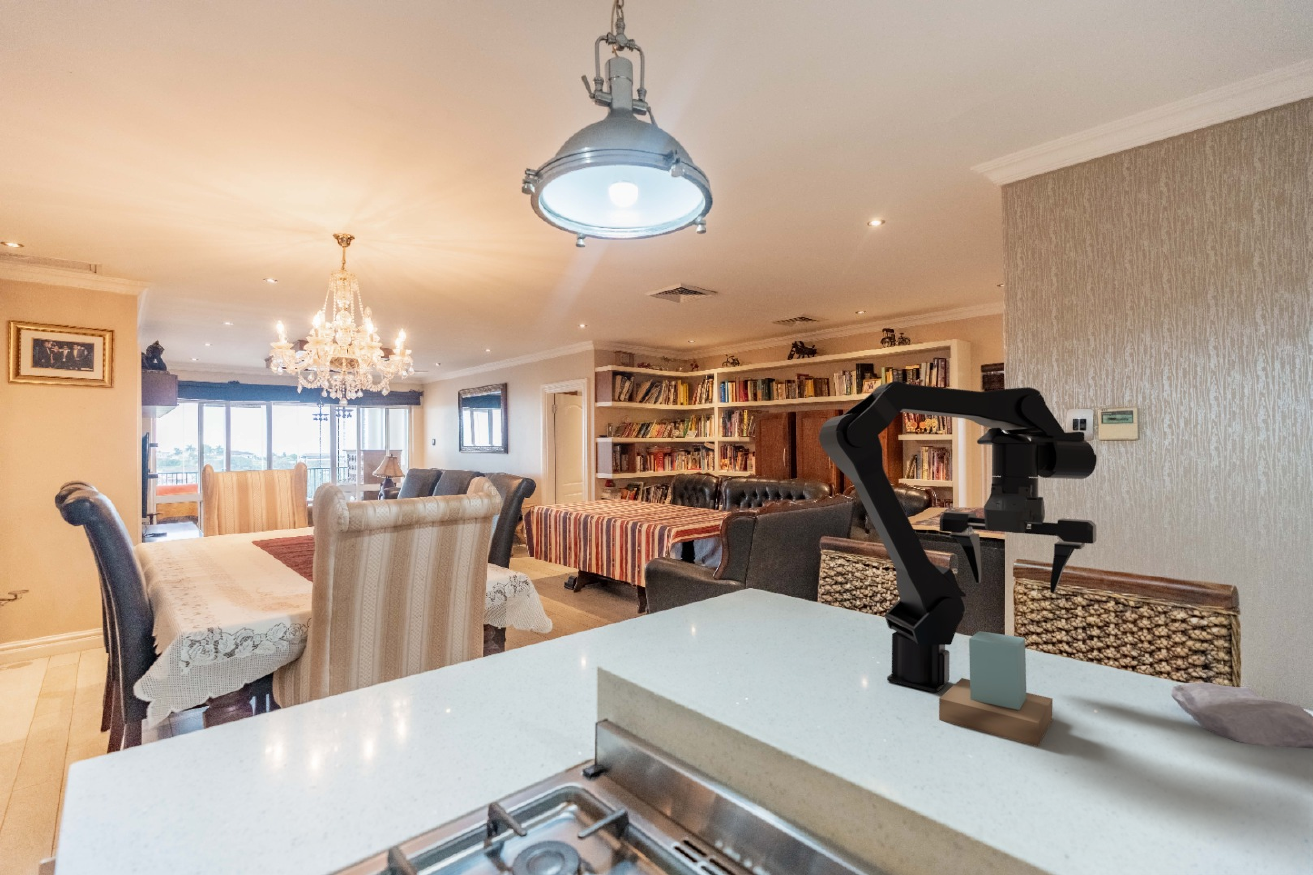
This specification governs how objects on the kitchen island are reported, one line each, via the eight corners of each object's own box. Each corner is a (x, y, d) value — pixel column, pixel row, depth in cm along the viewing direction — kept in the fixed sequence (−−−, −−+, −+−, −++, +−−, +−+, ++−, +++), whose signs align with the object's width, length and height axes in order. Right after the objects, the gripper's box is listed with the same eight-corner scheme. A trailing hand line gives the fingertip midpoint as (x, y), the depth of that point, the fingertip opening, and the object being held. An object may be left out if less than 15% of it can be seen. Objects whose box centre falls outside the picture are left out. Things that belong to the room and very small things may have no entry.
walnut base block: (938, 724, 73) (939, 698, 73) (961, 701, 80) (961, 677, 81) (1038, 751, 66) (1038, 723, 66) (1052, 724, 74) (1052, 698, 74)
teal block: (970, 699, 73) (969, 638, 73) (979, 688, 77) (978, 630, 77) (1019, 709, 70) (1017, 646, 70) (1026, 697, 74) (1024, 637, 74)
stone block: (1234, 761, 68) (1333, 750, 67) (1223, 716, 69) (1321, 704, 68) (1160, 722, 80) (1244, 712, 79) (1151, 683, 81) (1234, 673, 80)
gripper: (929, 474, 88) (928, 585, 87) (1088, 479, 76) (1089, 607, 76) (950, 475, 97) (949, 576, 96) (1096, 479, 85) (1096, 595, 84)
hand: (1014, 587), depth 88 cm, fingers open, 9 cm apart
